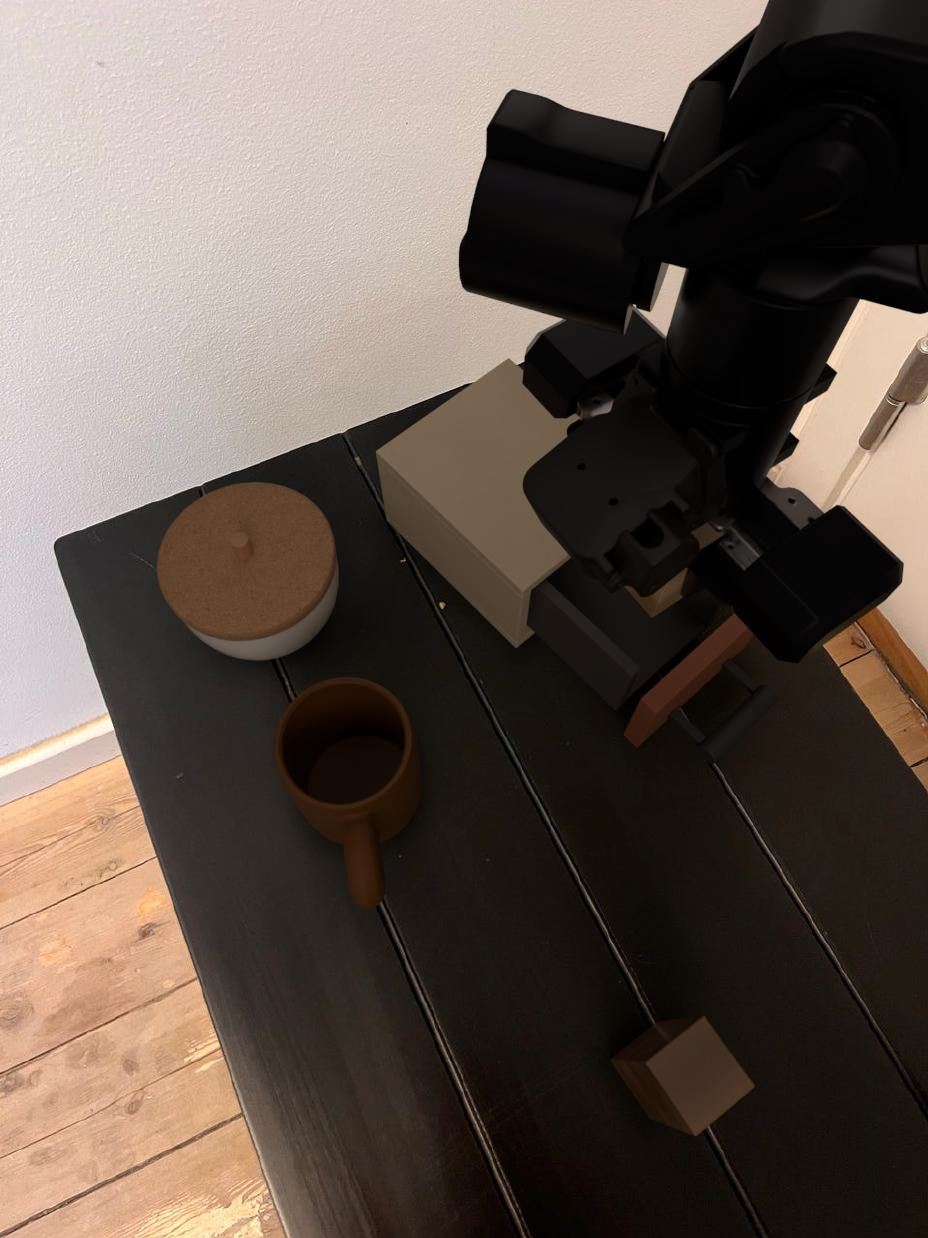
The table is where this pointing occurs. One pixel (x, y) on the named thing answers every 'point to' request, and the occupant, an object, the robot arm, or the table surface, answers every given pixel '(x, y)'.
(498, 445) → the cabinet
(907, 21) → the robot arm
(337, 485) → the table surface
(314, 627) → the trinket box
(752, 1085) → the post
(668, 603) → the block
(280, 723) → the mug
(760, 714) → the drawer
